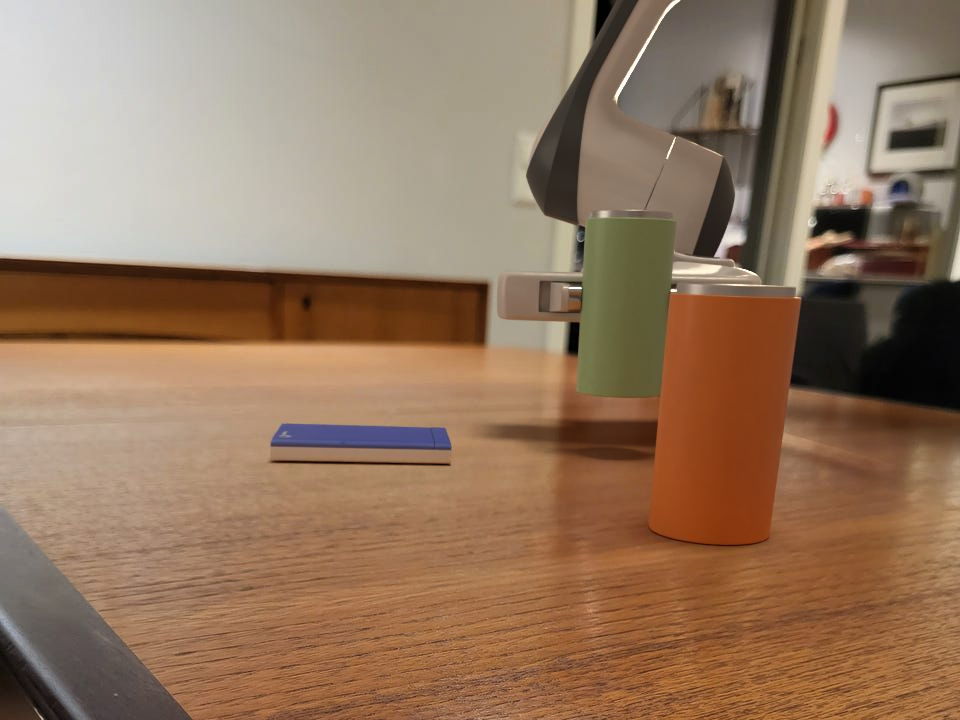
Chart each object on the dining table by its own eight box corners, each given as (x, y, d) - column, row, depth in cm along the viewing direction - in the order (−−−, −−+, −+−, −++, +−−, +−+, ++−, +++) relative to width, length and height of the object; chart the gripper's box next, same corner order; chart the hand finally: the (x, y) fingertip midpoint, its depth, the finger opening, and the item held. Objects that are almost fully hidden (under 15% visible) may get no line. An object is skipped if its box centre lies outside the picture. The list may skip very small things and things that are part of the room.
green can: (641, 388, 79) (654, 216, 74) (676, 397, 73) (693, 211, 69) (564, 388, 77) (573, 212, 73) (594, 398, 71) (605, 208, 67)
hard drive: (269, 439, 68) (451, 443, 69) (281, 421, 76) (445, 425, 77) (270, 462, 68) (451, 465, 70) (282, 442, 76) (444, 446, 77)
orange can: (732, 514, 58) (760, 285, 53) (792, 542, 52) (829, 287, 48) (630, 517, 56) (650, 281, 52) (679, 547, 50) (707, 283, 46)
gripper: (506, 254, 85) (484, 250, 72) (752, 259, 82) (774, 256, 70) (504, 331, 87) (482, 341, 74) (743, 339, 85) (763, 350, 72)
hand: (625, 300), depth 72 cm, fingers closed on green can, 6 cm apart
